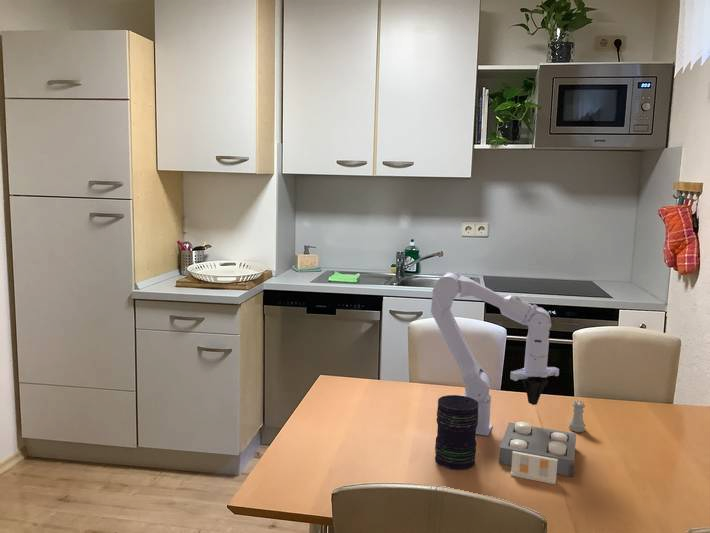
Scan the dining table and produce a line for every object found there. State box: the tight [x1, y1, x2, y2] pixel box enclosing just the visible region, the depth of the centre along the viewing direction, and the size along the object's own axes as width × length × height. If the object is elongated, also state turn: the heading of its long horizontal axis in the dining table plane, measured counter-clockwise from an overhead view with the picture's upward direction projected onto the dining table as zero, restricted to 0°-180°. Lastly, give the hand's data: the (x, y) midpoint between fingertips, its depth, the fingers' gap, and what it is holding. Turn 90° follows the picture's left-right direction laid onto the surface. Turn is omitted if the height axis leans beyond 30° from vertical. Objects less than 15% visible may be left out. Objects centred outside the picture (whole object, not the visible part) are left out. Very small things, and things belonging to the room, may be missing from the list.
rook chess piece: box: [568, 399, 586, 433], centre depth 170 cm, size 4×4×8 cm
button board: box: [498, 422, 577, 478], centre depth 153 cm, size 17×17×4 cm
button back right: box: [551, 432, 568, 441], centre depth 156 cm, size 4×4×3 cm
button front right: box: [547, 441, 567, 456], centre depth 147 cm, size 4×4×3 cm
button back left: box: [515, 421, 532, 435], centre depth 159 cm, size 4×4×3 cm
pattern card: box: [509, 451, 558, 485], centre depth 142 cm, size 10×3×5 cm, turn 69°
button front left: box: [509, 439, 528, 449], centre depth 151 cm, size 4×4×3 cm
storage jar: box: [434, 394, 478, 471], centre depth 148 cm, size 10×10×15 cm
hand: (532, 403), depth 164 cm, fingers closed
